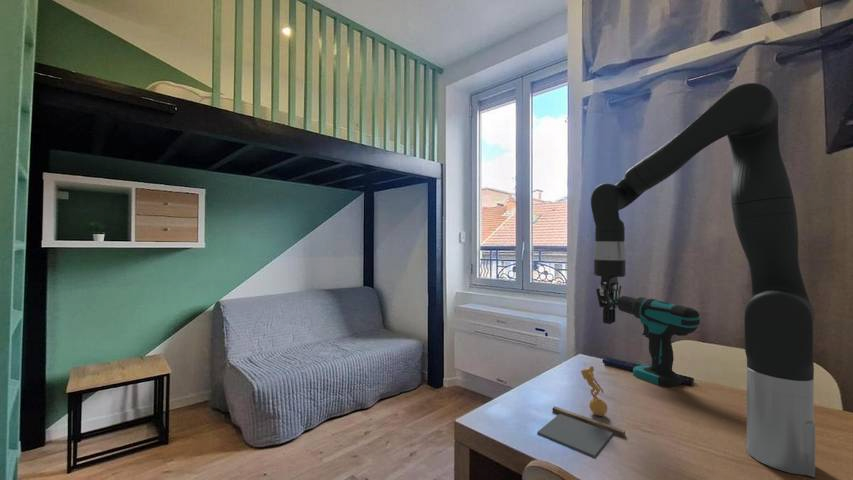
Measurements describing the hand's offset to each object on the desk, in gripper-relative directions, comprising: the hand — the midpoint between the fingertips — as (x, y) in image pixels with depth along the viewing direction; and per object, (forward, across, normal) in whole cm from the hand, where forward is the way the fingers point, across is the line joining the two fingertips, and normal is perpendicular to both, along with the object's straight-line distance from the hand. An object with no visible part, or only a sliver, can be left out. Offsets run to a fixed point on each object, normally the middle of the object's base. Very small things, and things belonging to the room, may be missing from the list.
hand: (609, 322), depth 93 cm
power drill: (+21, +28, -4) cm, 35 cm away
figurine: (+21, -11, 0) cm, 24 cm away
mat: (+21, -23, 0) cm, 31 cm away
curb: (+21, -16, 0) cm, 27 cm away
